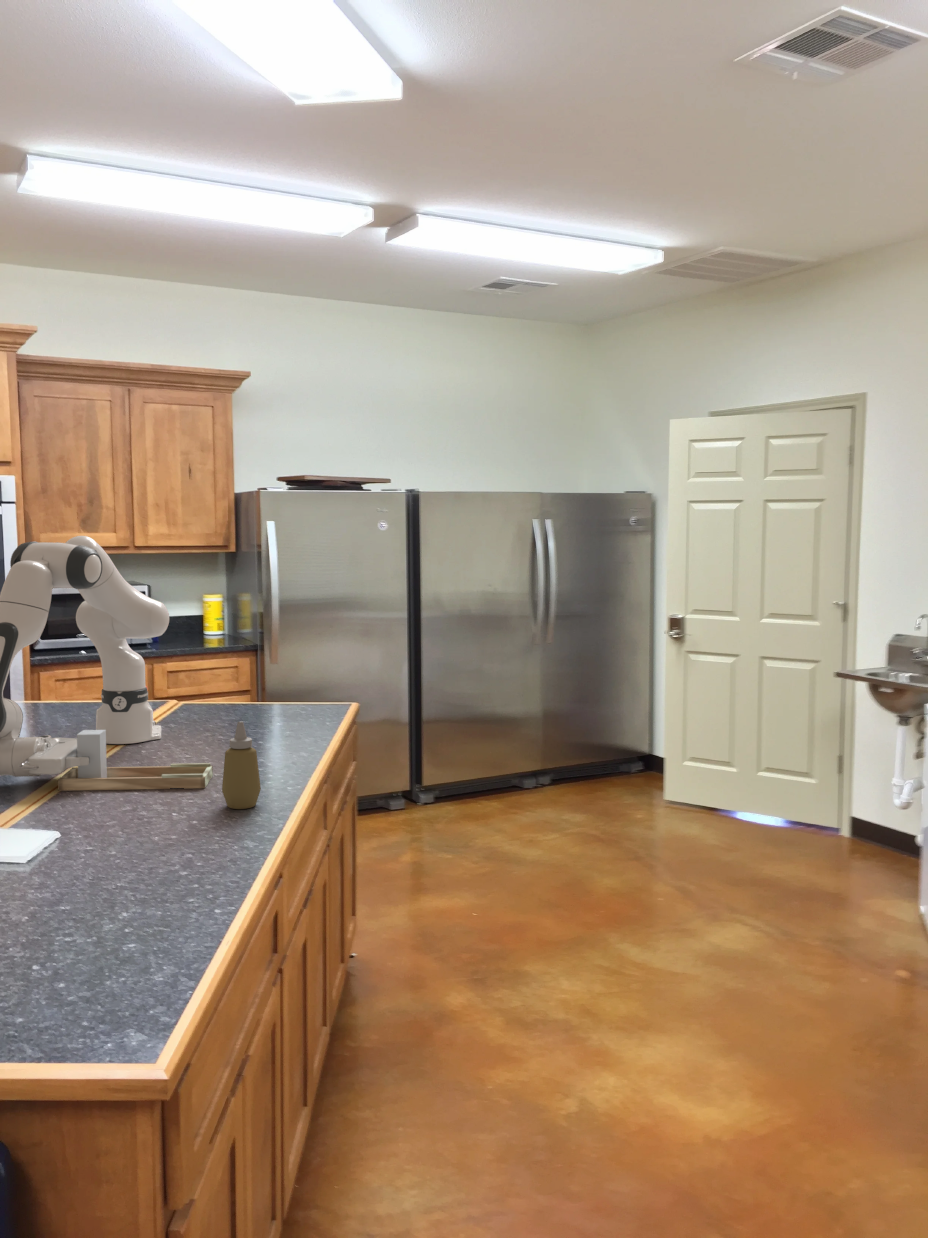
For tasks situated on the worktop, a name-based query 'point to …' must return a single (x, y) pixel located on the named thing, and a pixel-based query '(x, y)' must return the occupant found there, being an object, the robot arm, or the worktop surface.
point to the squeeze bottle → (241, 772)
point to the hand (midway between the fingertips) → (95, 755)
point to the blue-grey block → (92, 753)
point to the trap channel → (142, 778)
